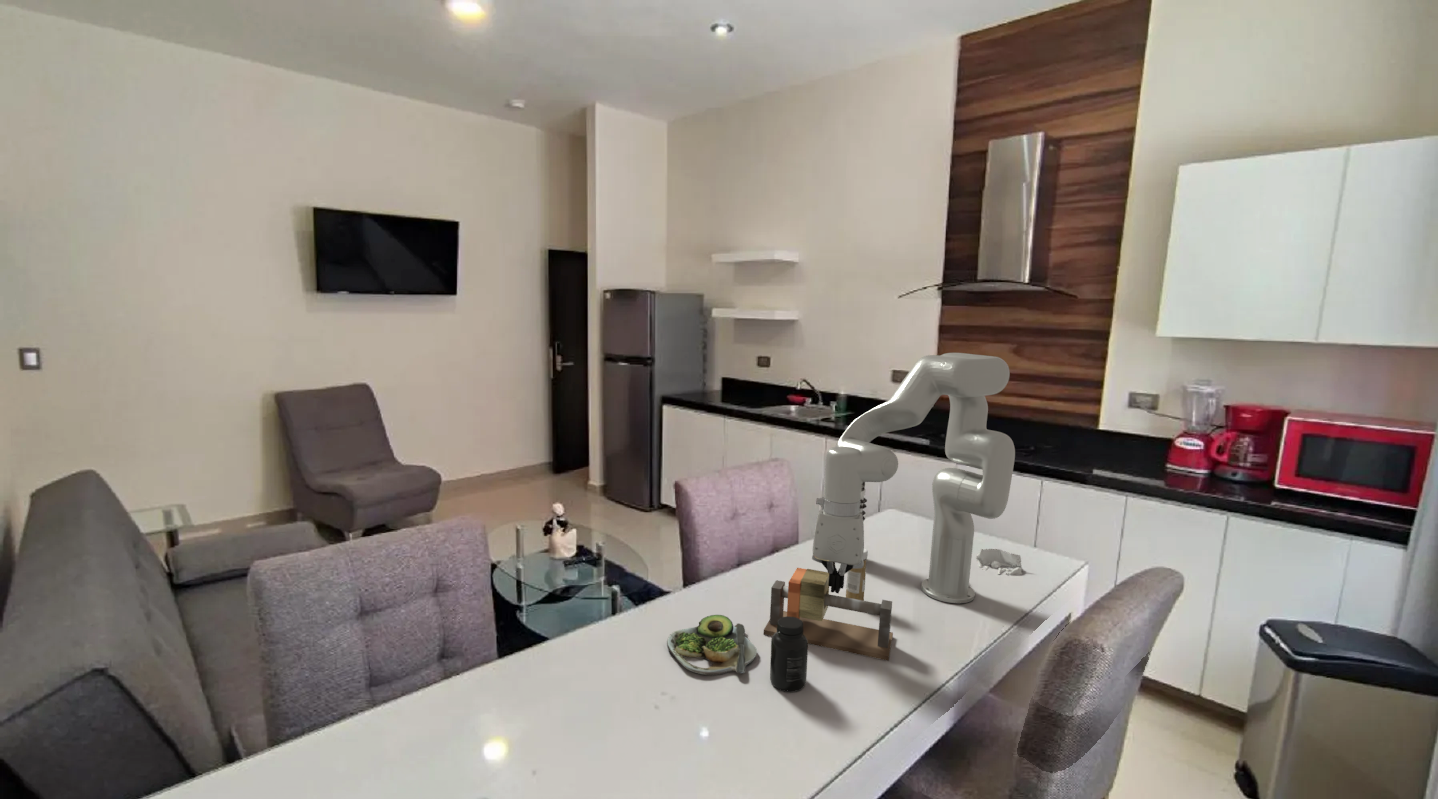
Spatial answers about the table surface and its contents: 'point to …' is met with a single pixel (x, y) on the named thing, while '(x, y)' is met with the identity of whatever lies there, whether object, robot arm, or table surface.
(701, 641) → the avocado toast plate
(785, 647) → the supplement bottle
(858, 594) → the sprinkles bottle
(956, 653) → the table surface
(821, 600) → the sleeve
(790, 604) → the orange rectangular slab
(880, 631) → the machine model on base
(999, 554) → the grey relief sculpture
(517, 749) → the table surface
